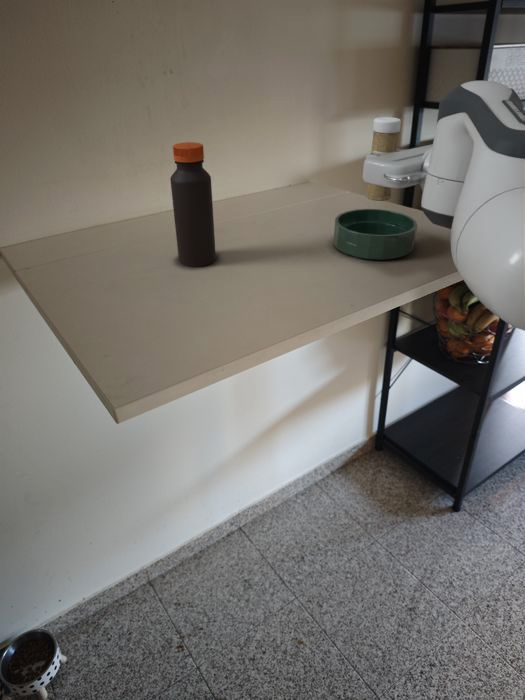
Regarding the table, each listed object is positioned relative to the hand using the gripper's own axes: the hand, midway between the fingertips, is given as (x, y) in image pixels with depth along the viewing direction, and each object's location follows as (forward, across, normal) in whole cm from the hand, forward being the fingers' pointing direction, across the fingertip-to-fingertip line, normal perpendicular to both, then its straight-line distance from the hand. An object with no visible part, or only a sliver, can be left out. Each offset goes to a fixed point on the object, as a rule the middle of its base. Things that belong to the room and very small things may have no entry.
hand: (379, 156), depth 88 cm
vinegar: (+15, -30, -17) cm, 38 cm away
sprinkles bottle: (-1, 0, -7) cm, 7 cm away
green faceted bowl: (-1, 0, -17) cm, 17 cm away
